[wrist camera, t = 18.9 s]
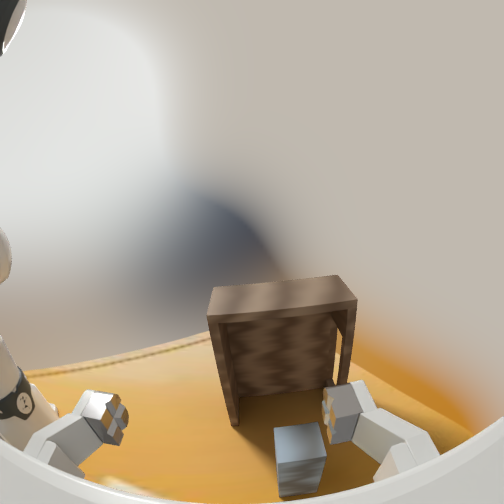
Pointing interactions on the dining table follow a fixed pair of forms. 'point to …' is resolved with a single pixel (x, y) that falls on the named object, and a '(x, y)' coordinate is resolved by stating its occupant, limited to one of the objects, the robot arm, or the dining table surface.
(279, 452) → the slate block
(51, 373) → the dining table surface
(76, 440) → the robot arm
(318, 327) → the walnut box
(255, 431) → the dining table surface
